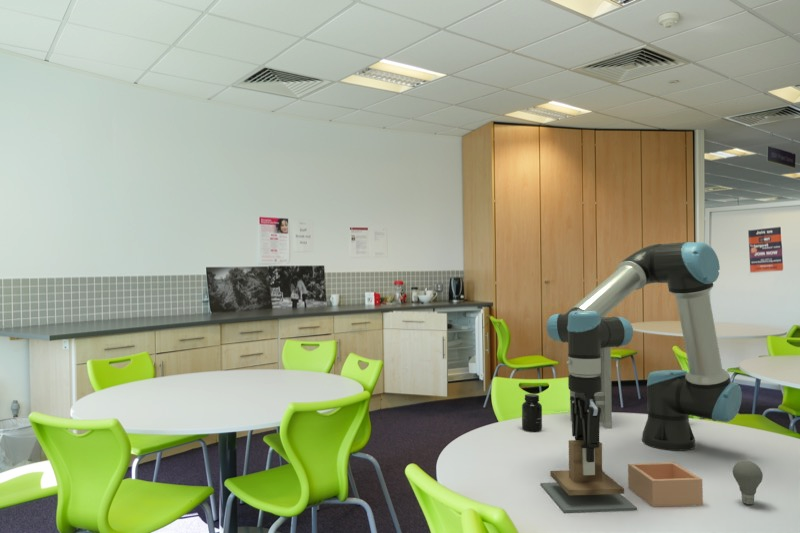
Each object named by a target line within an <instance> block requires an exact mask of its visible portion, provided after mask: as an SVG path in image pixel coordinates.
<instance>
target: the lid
mask: <svg viewBox="0 0 800 533" xmlns="http://www.w3.org/2000/svg"><path fill="white" fill-rule="evenodd" d="M581 445H584V440H575V439H569V440H568V470H567V469H566V470H550V477H551V478H552V479H553V480H554V482H557V483H558V484H559V485H560V486H561V487H562V488H563V489H564V491H565V492H566V493H567V494H568V495H599V494H621V495H623V494H625V488H624V487H623V486H621V484H619V483H618V482H616V480H615V479H613V478H612V477H610V476H609V475H608V474H606V473H605V472H604V471H603V443H602V442H600V441H599V448H595V475H583V457H582V447H581Z"/></svg>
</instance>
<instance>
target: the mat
mask: <svg viewBox="0 0 800 533" xmlns="http://www.w3.org/2000/svg"><path fill="white" fill-rule="evenodd" d="M540 486H541V488H542V489H543V490H544V491H545V493H546V494H547V495H548V496H549V497H550V498H551V499H552V500H553V502H554V503H555V504H556V505H557V506H558V507H559V509H560V510H561V511H562V512H563V513H564V514H569V513H572V514H575V513H598V512H600V513H601V512H605V513H606V512H624V511H625V512H627V511H628V512H629V511H631V512H633V511H638V507H637V506H636V505H634V503H633V502H631V501H630V500H628V499H627V498H626V497H625V496H624V495H623V494H599V495H568V494H567V493H566V492H565V491H564V489H563V488H562V487H561V486H560V485H559V484H558V483H557V482H556V481H552V482H540Z"/></svg>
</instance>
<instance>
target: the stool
mask: <svg viewBox="0 0 800 533" xmlns="http://www.w3.org/2000/svg"><path fill="white" fill-rule="evenodd" d="M611 348H612V347H608V348H600V357H601V373H600V374H599V375H598V376H600V377H601V391H600V392H598V393H595V394H594V396H595V401H596V407H600V408H601V413H600V423H603V424H602V426H603V428H604V429H607V430H608V429H609V430H610V429H611V430H612V429H613V421H612V419H613V417H612V416H613V411H612V355H611V354H612V353H611V351H612V349H611ZM570 374H571V373H569V375H570ZM570 396H575V392H573V391H571V390H569V397H570ZM569 404H570V405H569V407H570V408H569V410H570V411H569V412H570V417H569V418H570V422H572V416H571V402H570V401H569Z"/></svg>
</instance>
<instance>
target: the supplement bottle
mask: <svg viewBox="0 0 800 533" xmlns="http://www.w3.org/2000/svg"><path fill="white" fill-rule="evenodd" d="M539 395H540V394H535V393H526V394H524V401H525V402H523V403H522V405H521V428H522V430H524V431H525V432H530V433H538V432H541V431H542V430H543V407H542V406H543V405H542V403H540V396H539Z"/></svg>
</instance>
